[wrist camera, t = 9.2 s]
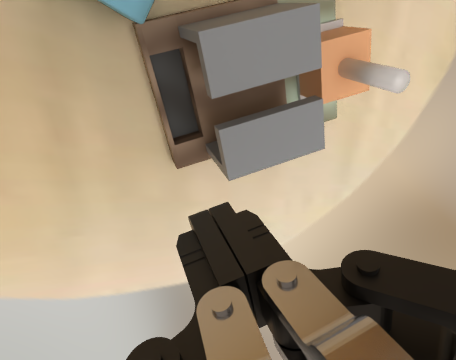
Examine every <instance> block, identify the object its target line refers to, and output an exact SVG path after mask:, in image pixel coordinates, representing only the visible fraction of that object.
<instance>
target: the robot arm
mask: <svg viewBox="0 0 456 360" xmlns="http://www.w3.org/2000/svg"><path fill="white" fill-rule="evenodd" d="M188 218H189V222H190V225H191V228H192V230H191V231H189V232H186V233H183V234H181V235H179V237H178V241H177V245H176V247H177V250H178V253H179V256H180V259H181V262H182V265H183V268H184V271H185V274H186V276H187V279H188V282H189V285H190V288H191V291H192V294H193V297H194V300H195V312H194V315H193V317H192V320H191V321H190V323H189V324H188V325H187V326H186V328H185V329H184V330H183V331H181V332H180V333H179V334H178V335H176V336H175V337H174V338H173V339H171V340H170V339H168V338H163V337H155V338H151V339H149V340H146V341H144V342H142V343H141V344H140V345H138V346H137V347H136V348H135V349H134V350H133V351H132V352H131V353H130V355H129V356H128V358H127V359H126V360H272V359H271V357H270V355H269V352H268V350H267V347H266V345H265V343H264V341H263V338H262V335H261V333H260V331H259V328H261V327H263V326H265V325H268V327H269V329H270V331H271V332H272V334H273V339H274V344H275V347H276V348H277V350H278V352H279V354H280V355H281V357H282V358H283V360H456V270H452V269H448V268H444V267H439V266H435V265H431V264H426V263H422V262H418V261H414V260H410V259H405V258H401V257H397V256H392V255H388V254H384V253H380V252H376V251H371V250H359V251H354V252H352V253H350V254H348V255H347V256H346V257H345V258H344V259H343V261H342V263H341V267H338V268H331V269H323V270H312V269H308V268H307V267H306V266H305V265H303V264H301V263H299V262H296V261H292V259H291V258H290V257H289V256H288V254H287V253H286V252H285V250H284V249H283V248H282V247H281V245H280V244H279V243H278V242H277V240H276V239H275V238H274V236H273V235H272V234H271V233H270V232H269V230H268V229H267V227H266V226H264V224H263V222H262V221H261V220H260V218H259V217H258V216H257V215H255V214H253V213H251V212H249V211H247V210H244V211H242V212H239V213H235V211H234V210H233V209H232V207H231V206H230V204H229V203H228V202H226V203H223V204H221V205H218V206H215V207H212V208H210V209H209V211H208V210H205V211H202V212H199V213H196V214H194V215H191V216H188ZM258 327H259V328H258Z"/></svg>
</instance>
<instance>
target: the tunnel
mask: <svg viewBox="0 0 456 360" xmlns="http://www.w3.org/2000/svg"><path fill="white" fill-rule="evenodd" d="M178 30H179V34H180V37H181V38H184V39H186V40H189V41H191V42H194V43H196V44H197V49H198V53H199V58H200V63H201V68H202V72H203V77H204V82H205V86H206V91H207V95H208V96H209V97H210V98H211V99H214V98H218V97H221V96H225V95H228V94H232V93H235V92H239V91H242V90H246V89H249V88H253V87H256V86H260V85H263V84H267V83H271V82H274V81H278V80H281V79H285V78H288V77H292V76H295V75H299V74H302V73H306V72H309V71H313V70H316V69H320V68H322V54H321V25H320V3H276V4H272V5H268V6H263V7H259V8H255V9H250V10H246V11H242V12H238V13H233V14H229V15H225V16H220V17H216V18H212V19H208V20H203V21H199V22H195V23H190V24H186V25H182V26H178ZM214 129H215V133H216V138H217V141H214V142H211V143H208V144H205V145H206V149H207V152H208V154H209V155H210V156H211V158H212V159H213V160H214V162H215V163H216V164H217V166H218V167H219V168H220V170H221V171H222V172H223V174H224V175H225V176H226V178H227V179H228V180H229V181H230V180H233V179H236V178H239V177H242V176H245V175H248V174H251V173H254V172H257V171H260V170H263V169H266V168H269V167H272V166H275V165H278V164H281V163H284V162H287V161H289V160H292V159H295V158H298V157H301V156H304V155H307V154H310V153H313V152H316V151H319V150H322V149H325V140H324V112H323V99H322V98H320V97H318V96H315V95H314V96H311V97H308V98H304V99H301V100H298V101H294V102H291V103H288V104H284V105H281V106H278V107H274V108H271V109H268V110H264V111H261V112H258V113H254V114H251V115H248V116H244V117H241V118H238V119H234V120H231V121H228V122H224V123H221V124H218V125H214Z"/></svg>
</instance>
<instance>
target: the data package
mask: <svg viewBox="0 0 456 360" xmlns="http://www.w3.org/2000/svg"><path fill="white" fill-rule="evenodd" d="M98 1H99V2H101V3H103V4H104V5H106V6H108V7H109V8H111V9H113V10H114V11H116V12H118V13H119V14H121V15H123V16H124V17H126V18H128V19H130V20H132V21H134V22H136V23H138V24H143V23H144V22H145V20H146V17H147V15H148V13H149V11H150V9H151V7H152V4H153V2H154V0H98Z"/></svg>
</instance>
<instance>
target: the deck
mask: <svg viewBox="0 0 456 360" xmlns="http://www.w3.org/2000/svg"><path fill="white" fill-rule="evenodd" d="M276 3H320V24H321V23H325V22H329V21H333V20H336V19H335V0H234V1H229V2H225V3H221V4H216V5H212V6H207V7H203V8H198V9H194V10H189V11H185V12H180V13H176V14H172V15H167V16H163V17H158V18H154V19H149V20H145V22H144V23H143V24H138V23H133V27H134V30H135V34H136V37H137V40H138V44H139V47H140V50H141V54H142V57H143V61H144V64H145V67H146V71H147V74H148V77H149V81H150V84H151V88H152V91H153V94H154V98H155V101H156V105H157V108H158V111H159V115H160V118H161V121H162V125H163V128H164V132H165V135H166V138H167V142H168V145H169V148H170V152H171V155H172V159H173V162H174V164H175V166H176V168H177V169H179V168H182V167H185V166H189V165H192V164H195V163H198V162H201V161H204V160H207V159H210V158H211V156H210V155H209V154H208V152H207V149H206V145H205V144H208V143H211V142H214V141H217V138H216V133H215V129H214V125H218V124H221V123H224V122H228V121H231V120H234V119H238V118H241V117H244V116H248V115H251V114H254V113H258V112H261V111H264V110H268V109H271V108H274V107H278V106H281V105H284V104H288V103H291V102H294V101H298V100H299V97H298V83H297V75H295V76H292V77H288V78H285V79H281V80H278V81H274V82H271V83H267V84H263V85H260V86H256V87H253V88H249V89H246V90H242V91H239V92H235V93H232V94H228V95H225V96H221V97H218V98H214V99H211V98H210V97H209V96H208V95H207V91H206V86H205V82H204V77H203V72H202V68H201V63H200V58H199V53H198V49H197V44H196V43H194V42H191V41H189V40H186V39H184V38H181V37H180V34H179V30H178V26H182V25H186V24H190V23H195V22H199V21H203V20H208V19H212V18H216V17H220V16H225V15H229V14H233V13H238V12H242V11H246V10H250V9H255V8H259V7H263V6H268V5H272V4H276ZM323 112H324V122H326V121H329V120H332V119H335V118H337V100H335V101H332V102H329V103H326V104H323Z"/></svg>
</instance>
